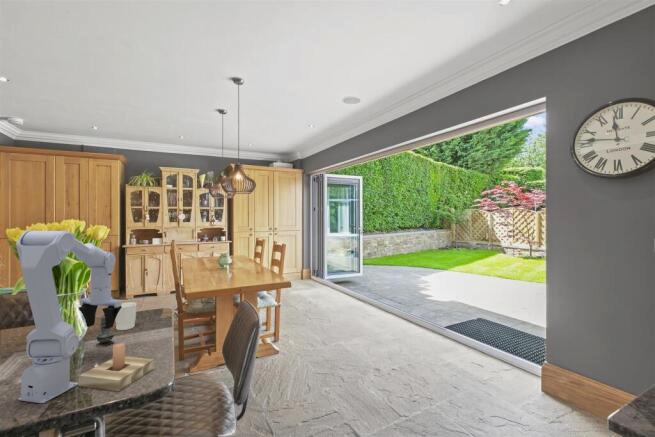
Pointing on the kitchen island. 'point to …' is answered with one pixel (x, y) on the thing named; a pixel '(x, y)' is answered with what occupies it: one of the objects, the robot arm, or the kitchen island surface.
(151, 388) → the kitchen island surface
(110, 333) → the chess piece
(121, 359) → the peg
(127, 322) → the white cup
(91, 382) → the socket block
